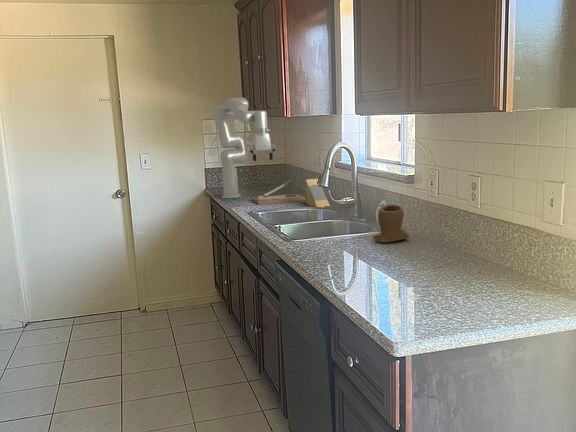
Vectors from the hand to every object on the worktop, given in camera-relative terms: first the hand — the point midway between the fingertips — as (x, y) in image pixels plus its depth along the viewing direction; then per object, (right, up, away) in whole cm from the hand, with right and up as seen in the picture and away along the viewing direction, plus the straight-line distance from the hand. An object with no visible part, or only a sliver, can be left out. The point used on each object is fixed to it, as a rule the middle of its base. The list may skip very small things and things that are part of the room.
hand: (263, 160), depth 345 cm
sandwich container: (+33, -28, -10) cm, 44 cm away
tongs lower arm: (+8, -22, +15) cm, 28 cm away
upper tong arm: (+9, -17, +14) cm, 24 cm away
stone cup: (+58, -44, -108) cm, 131 cm away
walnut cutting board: (+9, -24, +15) cm, 30 cm away
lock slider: (-2, -23, +9) cm, 25 cm away
